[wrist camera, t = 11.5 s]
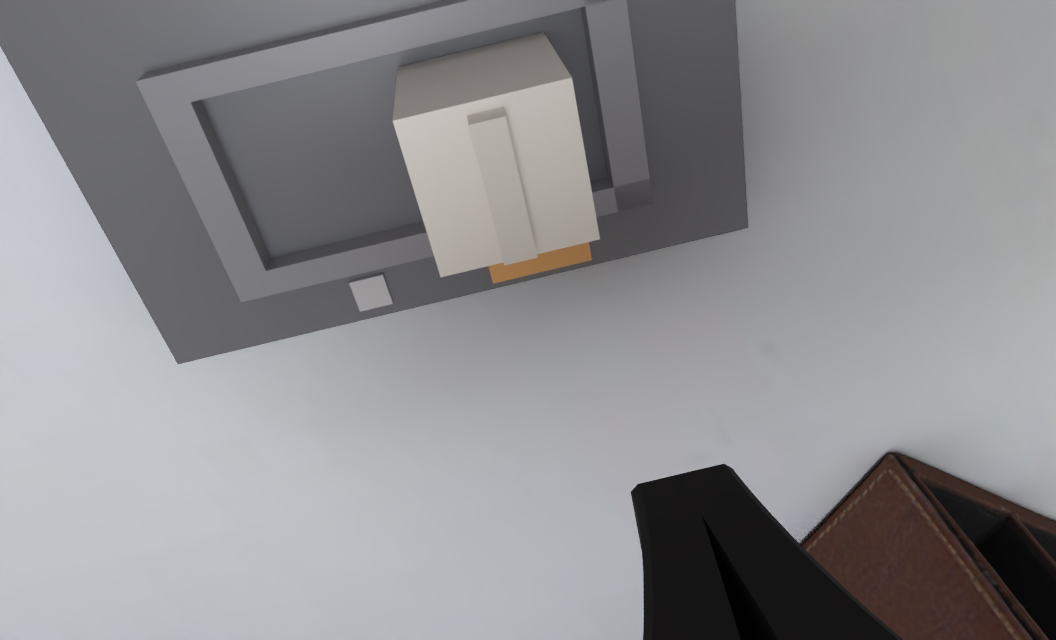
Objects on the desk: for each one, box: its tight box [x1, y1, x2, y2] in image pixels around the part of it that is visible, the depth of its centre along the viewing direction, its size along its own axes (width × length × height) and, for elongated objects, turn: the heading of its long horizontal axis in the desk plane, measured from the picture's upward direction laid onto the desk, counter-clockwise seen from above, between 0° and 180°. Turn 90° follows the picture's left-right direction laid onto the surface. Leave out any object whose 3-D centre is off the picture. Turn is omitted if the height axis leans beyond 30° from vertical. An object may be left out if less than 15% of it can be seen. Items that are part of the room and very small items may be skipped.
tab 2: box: [393, 32, 600, 277], centre depth 15 cm, size 3×3×4 cm
